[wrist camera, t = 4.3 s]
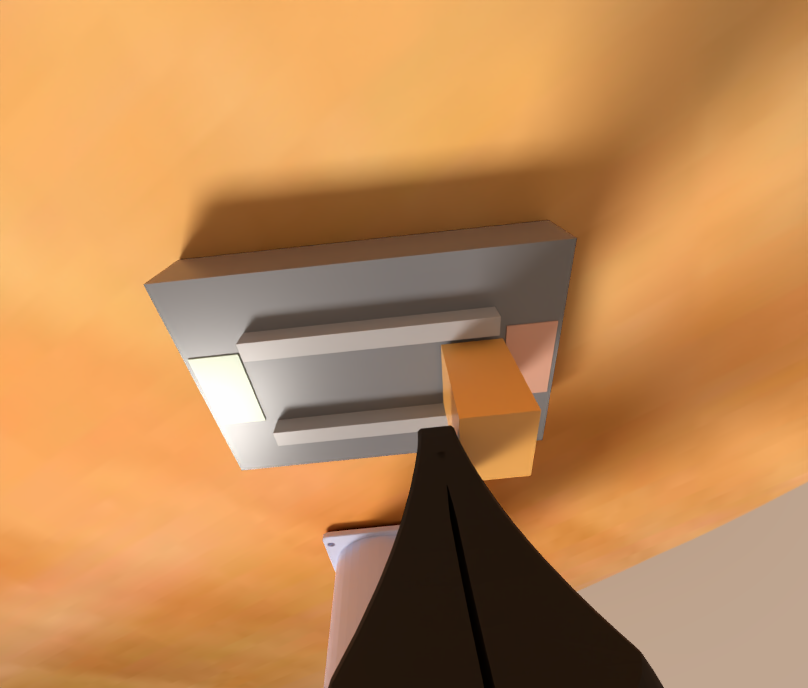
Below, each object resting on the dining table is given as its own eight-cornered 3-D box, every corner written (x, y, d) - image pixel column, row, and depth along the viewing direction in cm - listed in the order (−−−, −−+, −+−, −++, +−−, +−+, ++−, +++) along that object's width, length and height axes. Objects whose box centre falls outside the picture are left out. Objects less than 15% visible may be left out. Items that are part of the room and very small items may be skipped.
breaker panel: (525, 405, 20) (548, 452, 17) (256, 432, 20) (236, 484, 17) (548, 220, 14) (588, 245, 12) (178, 259, 14) (129, 294, 12)
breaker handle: (498, 396, 15) (530, 475, 12) (443, 402, 15) (460, 483, 12) (502, 338, 14) (541, 410, 10) (440, 344, 14) (459, 418, 10)
